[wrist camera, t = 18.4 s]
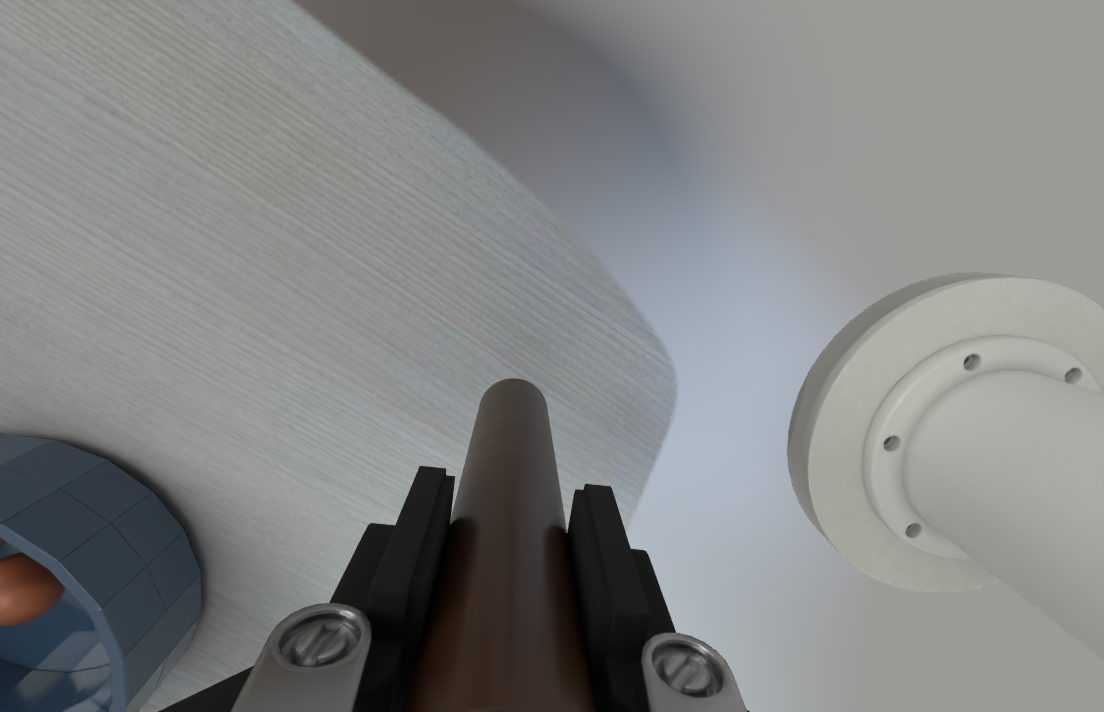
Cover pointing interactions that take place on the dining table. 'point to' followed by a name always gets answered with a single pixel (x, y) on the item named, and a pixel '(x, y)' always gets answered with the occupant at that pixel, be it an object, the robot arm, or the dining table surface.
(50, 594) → the bead
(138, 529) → the bowl
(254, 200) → the dining table surface
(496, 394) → the stick
